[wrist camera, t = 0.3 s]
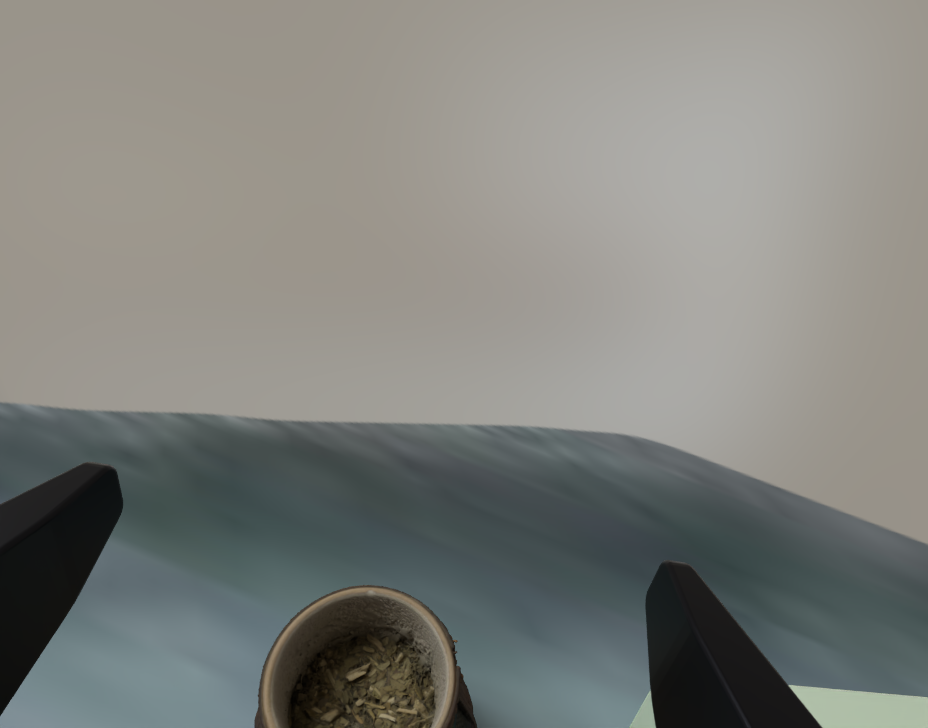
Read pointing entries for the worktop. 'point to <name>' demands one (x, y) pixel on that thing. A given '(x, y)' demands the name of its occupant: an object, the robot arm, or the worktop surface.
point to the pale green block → (840, 709)
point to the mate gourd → (364, 666)
